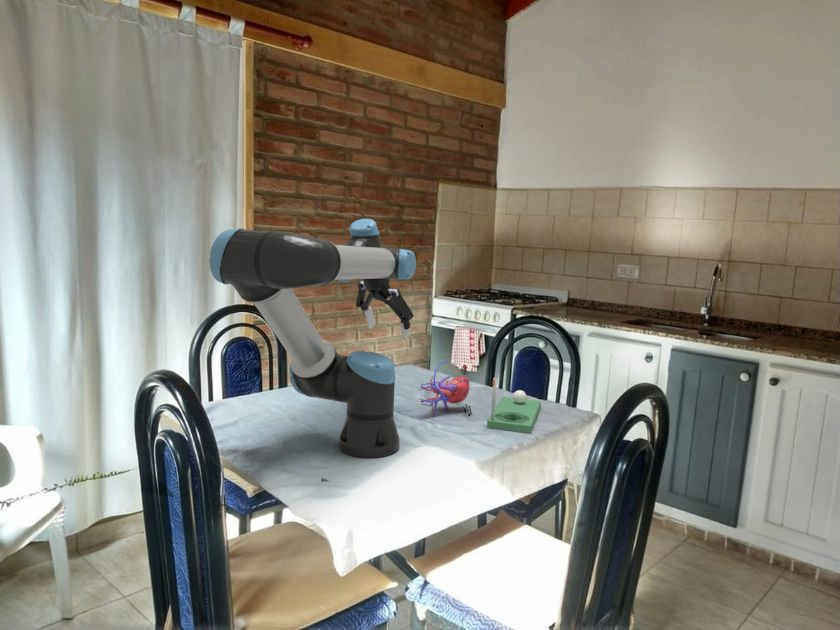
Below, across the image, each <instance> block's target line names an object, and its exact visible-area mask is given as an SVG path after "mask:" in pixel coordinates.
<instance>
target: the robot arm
mask: <svg viewBox="0 0 840 630" xmlns="http://www.w3.org/2000/svg"><path fill="white" fill-rule="evenodd" d="M349 235H350V238H349V239H348V240H347V241H346V243H345V244H344V245H343V244H340V245H338V244H334V243H333V242H332V241H330V240H328V239H323V238H315V237H311V236H307V235H301V234H299V233H294V232H288V231H281V230H280V231H278V230H277V231H276V230H254V229H245V228H240V227H239V228H237V229H236V228H233V229H232V228H231V229H226V230H223V231H222V232H221V233H220V234H219V235H217V237H216V238H215V239H214V240H213V242H212V245H211V247H210V250H209V259H208V260H209V263H208V265H209V270H210V273H211V275H212V276H213V278H214V279H215V280H216V281H217V282H219V283H220V284H223V285H231V286H232V287H233V288H234V289H235V291H236V293H237V294H238V295H239V296H240V298H241V299H242V300H243V301H244V302H246V303H247V302H248V303H251V304H254V305H255V307H256V309H257V310H258V312H259V313H260V314H261V316H262V317H263V318H264V320H265V322H266V323H267V324H268V326H269V327H270V329H271V330H272V332H273V333H274V335H275V336H276V338H277V339H278V340H279V342H280V343H281V345H282V346H283V348H284V349H285V351H286V352H287V354H288V355H289V357H290V358H291V359H290V365H289V369H288V373H289V375H290V376H289V381H290V384H291V386H292V387H293V389H294V390H295V392H297V393H299V394H301V395H303V396H306V397H307V398H313V399H314V398H316V399H322V400H327V401H333V402H338V403H339V402H340V403H345V404H346V418H345V421H344V423H343V426H342V429H341V432H340V434H339V439H338V449H339V450H340V451H341V453H345V454H347V455H349V456H353V457H359V458H381V457H382V458H383V457H387V456H390V455H393V454H395V453H396V452H398V451H399V449H400V446H401V445H400V438H401V437H400V435H399V432H398V429H397V428H398V427H397V424H396V422H395V417H394V410H395V408H394V407H395V405H394V404H395V385H396V384H395V383H396V373H395V372H396V370H395V363H394V362H393V361H392V359H391V358H390V357H388V356H387V355H385V354H382V353H378V352H373V351H365V350H357V351H352V352H350V353H349V354H348V355H345V354H344V355H343V354H340V353H338V352H337V350H336V348H335V346H334V345H333V344H332V343H331V342H330V341H329V340H327V339H322V337H321V335H320V334H319V332H318V330H317V329H316V327H315V326H314V324H313V322H312V321H311V318H309V315H308V314H307V313H306V310H305V309H304V308H303V306H302V304H301V303H300V301H299V299H298V298H297V296H296V294H295V293H294V291H293V290H292V289H298V288H306V287H312V286H313V287H314V286H325V285H328V284H331V283H333V282H334V281H336V280H337V281H338V282H342V283H348V282H350V281H352V280H361V281H360V282H359V283H357V288H358V291H357V296H356V300H355V301H356V302H355V307H357V308H360V310H362V313H363V316H364V318H365V321H366V324H367V328H368V329H369V330H371V329H372V328H373V327H374V326H376V319H375V316H374V312H373V309H372V306H370V305H371V303H372V302H373V300H375V301H380V302H383V303H384V304H385V305H388V307H389V308H390V309H391V310H392V312H394V314H395V315H396V316H397V317H398V318H399V321H398V322H399V326H400V330H401V331H400V332H401V334H402V339H403V340H405V341H406V340H407V339H408V338H409V337H410V336H411V335H412V333H411V329H410V328H411V324H410V320H411V319H413V317H414V313H413V311H412V310H411V308H410V307H409V305H408V304H407V302H406V301H405V299H404V296H403V295H402V294H401V290H400V288H399V287H396V288H392V287H391V286H390V279H393V280H394V279H395V280H399V281H400V280H410V279H412V277H414V274H416V273H415V272H416V269H417V259H416V255H415V253H414V251H412V250H409V249H403V248H387V247H385V248H384V247H383V246H382V245H383V244H382V241H381V237H380V231H379V228H378V226H377V223H376V221H375V220H373V219H371V218H362V219H358V220H355V221H353V222H352V223H350V224H349ZM367 292H368V295H367V296H366V293H367Z"/></svg>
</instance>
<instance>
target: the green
mask: <svg viewBox="0 0 840 630" xmlns="http://www.w3.org/2000/svg"><path fill="white" fill-rule="evenodd" d="M496 392H497V377H493V380H492V396H491V397H492V400H491V414H490V416H489V417H488V419H487V423H486V428H487V429H492V428H495V429H494V430H500V429H503V431H507V432H508V431H510V432H515V433H516V432H517V433H525V434H532V430H533V428H534V425H535V423H536V420H537V418H538V415H539V412H540V410H541V403H542V401H541V400H536V399H535V400H534V399H528V398H526V400H525V401H524V402H523V403H517V402H515V401H514V399H513V397H508V396H507V397H506V396H502V397H501V398H500V400H499V402H498V403H497V405H496Z"/></svg>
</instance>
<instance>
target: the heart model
mask: <svg viewBox="0 0 840 630" xmlns="http://www.w3.org/2000/svg"><path fill="white" fill-rule="evenodd" d="M446 362H449V360H444V361H441V362H440V363H439V364H437V366H436V367H435V370H434V374H433V375H432V376H431V378H430V380H429V381H430V382H428V383H420V389H419V388H418V391H419V392H420V391H422V390H425V391H426V392H433V393H434V394H435V395H436V396H435V397H430V398H425V399H423V398H421V397H418V400H420V403H421V405H425V406H427V407H431V411H432V414H434V416H435V417H438V414H437V412H436V411H437V405H438V402H440V401H442V403H443V406H444V409H446V410H448V409H449V406H448V403H449V404H458V403H461V402H464V401H466V398H467V396H468V394H469V392H470V379H469V378H468V377H466V376H465V375H467V367H466V365H465V364H463V365H462V366H461V368H459V369H460V370H461V374H462V376H461V375H458V376H456V377H454V378H451V377H452V376H451V375H448V376H445V377H444V378H442V379H441V380H439V381H438V380H437V381H436V374H437V371H438V369H439V367H440V366H441V365H442V364H444V363H445V364H446ZM450 378H451V380H448V379H450ZM444 382H445V383H444ZM443 383H444V384H443ZM425 385H426V386H425ZM464 405H465V406H462V409H463V410H464V414H467V416H468V417H471V415H473V412H472V408H471V406H470V405H468V404H467V403H464Z"/></svg>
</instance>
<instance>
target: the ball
mask: <svg viewBox="0 0 840 630" xmlns="http://www.w3.org/2000/svg"><path fill="white" fill-rule="evenodd" d="M512 398H513V399H514V401H515V402H517V403H523V402H524V401H525V400H526V399H527V394H526V392H525V391H524V390H521V389H519V390H516V391H514V393H513V394H512Z"/></svg>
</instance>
